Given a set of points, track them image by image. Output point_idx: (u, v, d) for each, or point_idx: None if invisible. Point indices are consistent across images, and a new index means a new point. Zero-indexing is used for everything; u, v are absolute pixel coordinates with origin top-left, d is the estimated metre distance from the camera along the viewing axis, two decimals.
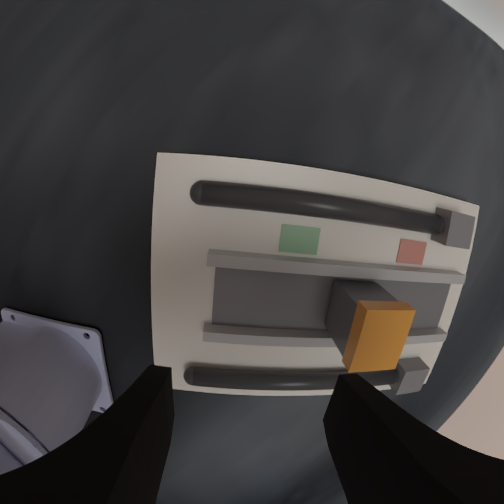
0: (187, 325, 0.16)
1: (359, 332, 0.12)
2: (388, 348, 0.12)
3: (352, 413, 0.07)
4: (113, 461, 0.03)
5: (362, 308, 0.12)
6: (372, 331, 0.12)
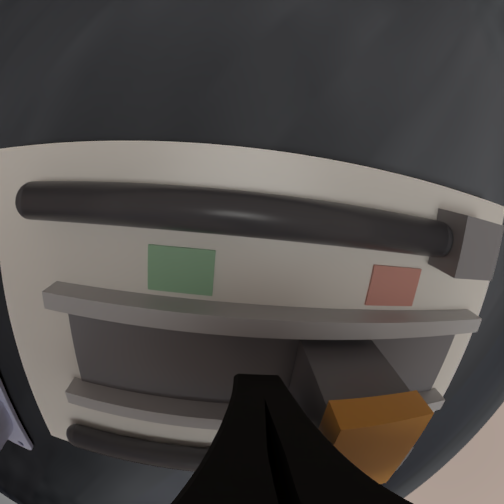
0: (57, 377, 0.10)
1: None
2: (376, 467, 0.06)
3: None
4: (261, 478, 0.04)
5: (333, 420, 0.06)
6: (349, 454, 0.05)
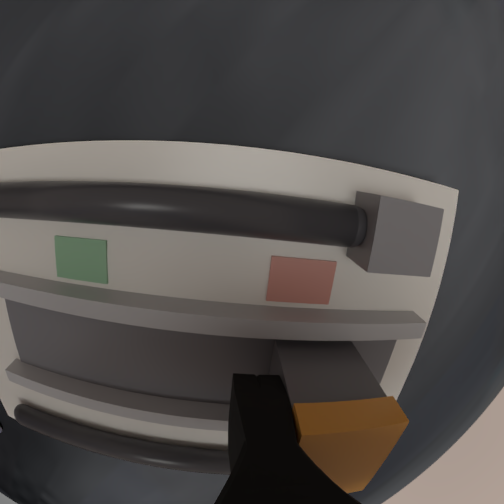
0: (4, 358, 0.09)
1: None
2: (349, 474, 0.06)
3: (234, 416, 0.06)
4: (297, 477, 0.04)
5: (296, 425, 0.05)
6: (316, 460, 0.05)
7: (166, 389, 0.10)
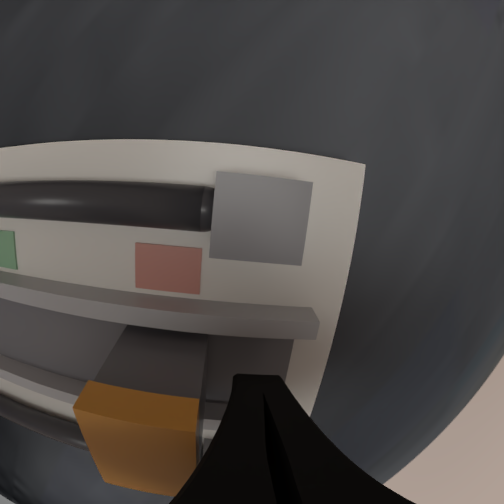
0: None
1: (86, 437, 0.05)
2: (160, 474, 0.05)
3: None
4: (260, 478, 0.04)
5: (80, 399, 0.05)
6: (105, 443, 0.05)
7: (71, 370, 0.09)
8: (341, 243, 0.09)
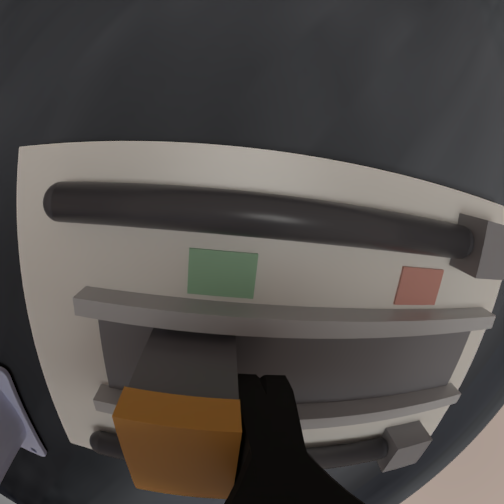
0: (82, 384, 0.10)
1: (122, 444, 0.05)
2: (197, 477, 0.05)
3: None
4: (305, 476, 0.04)
5: (118, 407, 0.05)
6: (144, 449, 0.05)
7: None
8: None
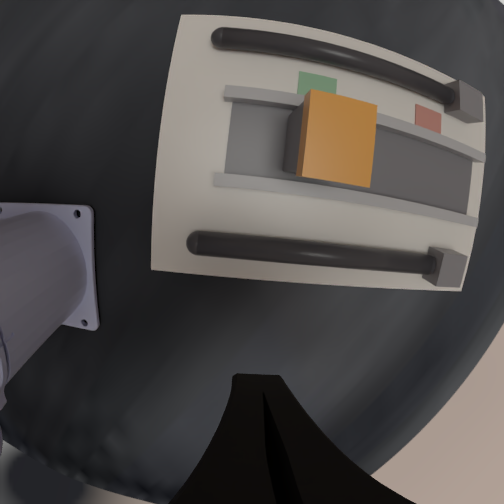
0: (196, 177, 0.14)
1: (307, 119, 0.09)
2: (352, 150, 0.10)
3: None
4: (259, 478, 0.04)
5: (307, 95, 0.09)
6: (324, 118, 0.09)
7: None
8: (481, 126, 0.14)
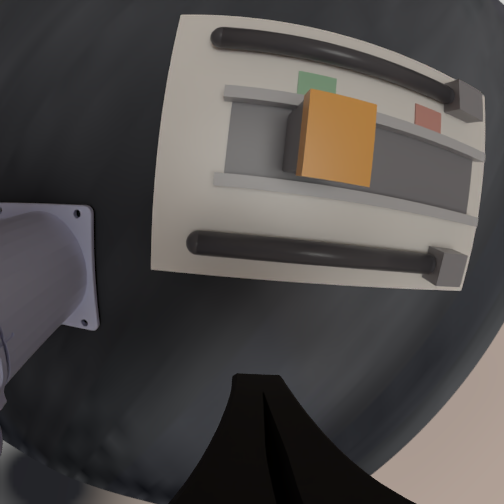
0: (196, 177, 0.14)
1: (307, 118, 0.09)
2: (351, 149, 0.10)
3: None
4: (259, 478, 0.04)
5: (307, 95, 0.09)
6: (323, 117, 0.09)
7: None
8: (481, 126, 0.14)
